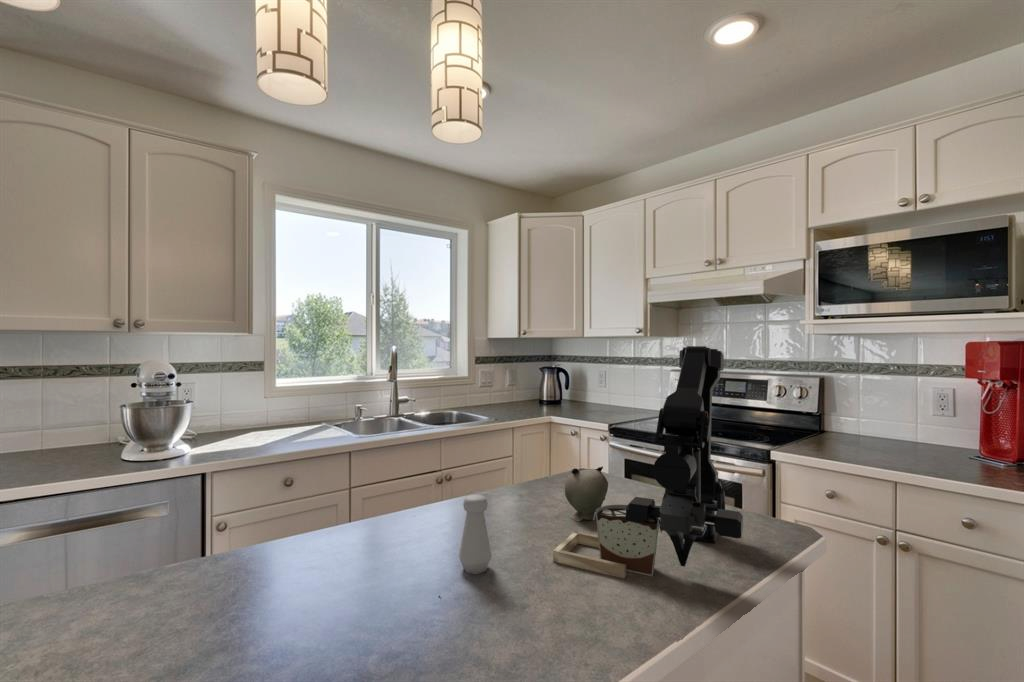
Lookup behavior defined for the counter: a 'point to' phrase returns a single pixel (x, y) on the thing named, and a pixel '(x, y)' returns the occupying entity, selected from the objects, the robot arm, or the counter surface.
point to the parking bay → (586, 562)
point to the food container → (627, 539)
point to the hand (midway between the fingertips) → (683, 565)
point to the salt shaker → (475, 536)
